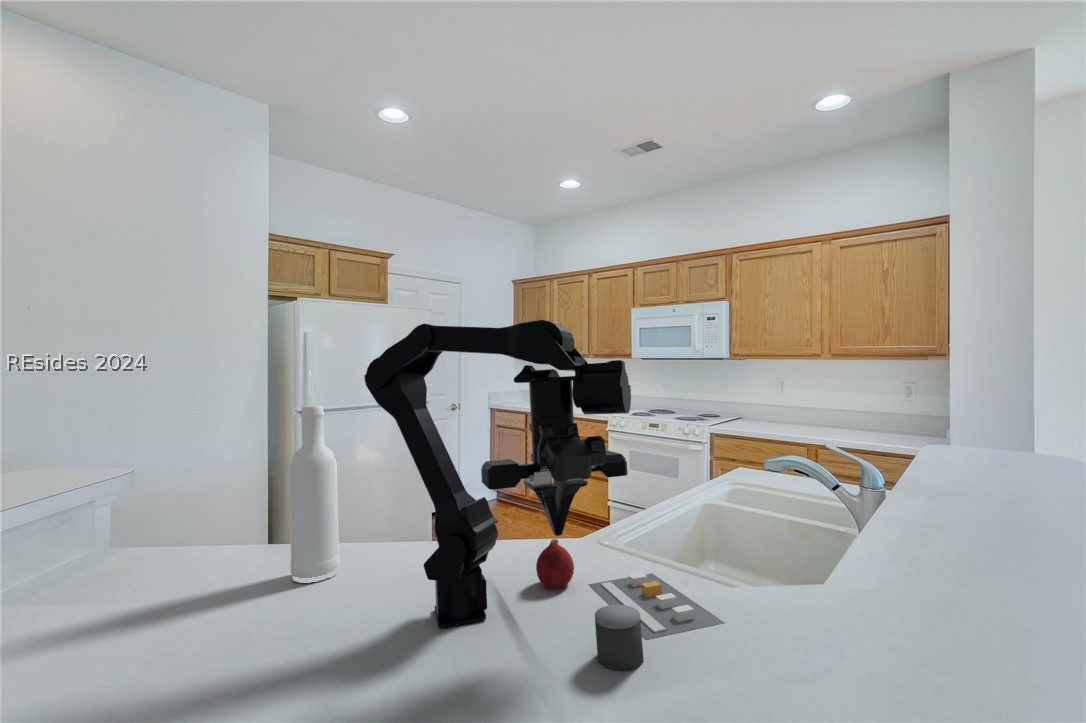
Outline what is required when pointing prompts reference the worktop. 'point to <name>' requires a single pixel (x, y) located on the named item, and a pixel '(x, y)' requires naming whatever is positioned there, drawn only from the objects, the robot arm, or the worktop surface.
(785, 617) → the worktop surface
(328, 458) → the bottle
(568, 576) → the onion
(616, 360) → the robot arm
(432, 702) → the worktop surface
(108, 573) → the worktop surface
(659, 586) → the block
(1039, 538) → the worktop surface
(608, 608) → the canister
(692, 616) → the panel
